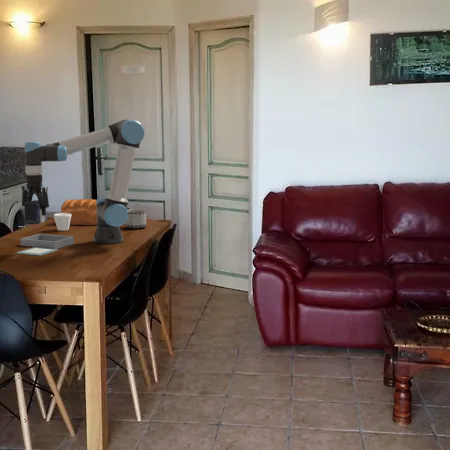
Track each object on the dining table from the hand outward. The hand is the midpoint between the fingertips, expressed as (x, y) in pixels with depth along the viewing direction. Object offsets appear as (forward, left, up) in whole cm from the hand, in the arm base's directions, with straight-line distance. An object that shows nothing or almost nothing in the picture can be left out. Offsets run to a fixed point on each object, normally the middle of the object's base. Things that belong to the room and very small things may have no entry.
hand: (36, 221), depth 319 cm
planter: (-9, -79, -15) cm, 81 cm away
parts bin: (+7, -17, -15) cm, 24 cm away
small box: (0, 0, -1) cm, 1 cm away
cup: (+25, -55, -15) cm, 62 cm away
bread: (+28, -79, -15) cm, 85 cm away
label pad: (0, 0, -15) cm, 15 cm away
